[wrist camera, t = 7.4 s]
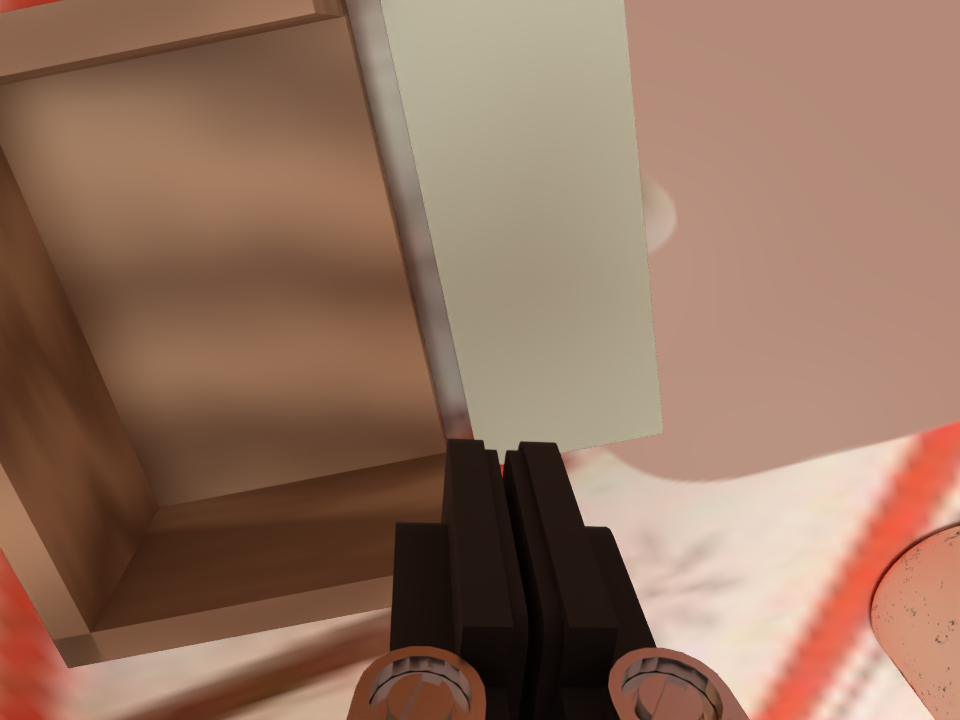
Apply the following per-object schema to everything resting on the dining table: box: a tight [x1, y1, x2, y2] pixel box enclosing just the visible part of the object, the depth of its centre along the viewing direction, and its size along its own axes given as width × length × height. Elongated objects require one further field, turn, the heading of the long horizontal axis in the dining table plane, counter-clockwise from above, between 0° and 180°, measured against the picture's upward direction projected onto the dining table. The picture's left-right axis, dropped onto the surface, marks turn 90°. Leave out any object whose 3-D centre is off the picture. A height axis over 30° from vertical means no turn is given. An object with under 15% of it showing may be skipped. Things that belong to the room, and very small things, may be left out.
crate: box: [0, 0, 447, 668], centre depth 24 cm, size 18×13×8 cm
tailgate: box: [380, 0, 663, 464], centre depth 26 cm, size 18×1×7 cm
